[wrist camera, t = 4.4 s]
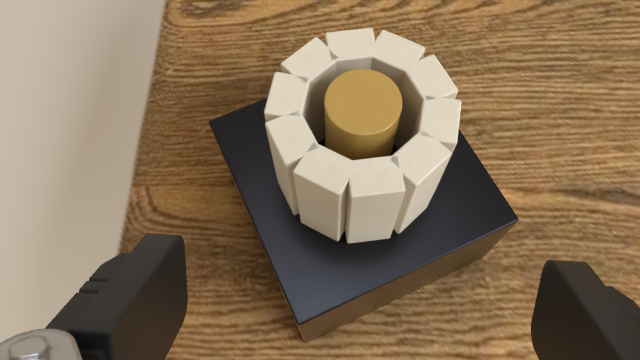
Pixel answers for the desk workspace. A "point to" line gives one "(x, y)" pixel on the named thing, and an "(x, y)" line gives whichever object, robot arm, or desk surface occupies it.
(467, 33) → the desk surface
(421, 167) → the ring
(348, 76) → the ring stand
